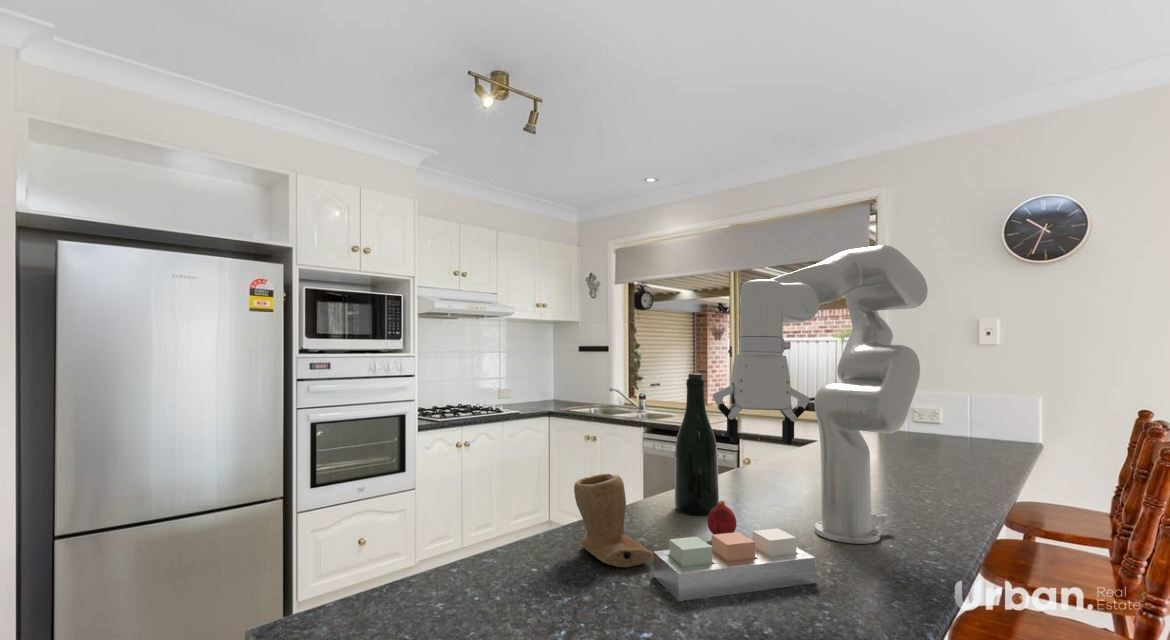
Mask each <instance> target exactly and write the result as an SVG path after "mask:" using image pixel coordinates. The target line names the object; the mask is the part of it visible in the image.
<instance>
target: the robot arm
mask: <svg viewBox="0 0 1170 640" xmlns="http://www.w3.org/2000/svg"><path fill="white" fill-rule="evenodd" d="M928 290H929V288H928V283H927V281H926V279H925V277H924V275H923V274H922V272H921V271H920V270H919V268H917V267H916V266H915V264H913V263H912V262H911V261H910V259H909V258H908V257H906V256H905V254H903V252H901V251H900V250H899V249H897V248H895V247H893V246H890V245H886V244H880V245H874V246H867V247H858V248H851V249H847V250H844V251H840V252H838V253H836V254H834V255H832V256H830V257H828V258H826V259H824V260H821V261H820V262H818V263H816V264H812V265H810V266H807V267H803V268H800V269H797V270H795V271H792V272H788V273H785V274H782V275H779V276H776V277H773V278H770V279H753V280H747V281H745V282H743V283H742V284H741V287H740V306H739V308H740V312H739V314H740V317H739V354H734V358H733V364H732V369H731V370H732V371H731V380H730V385H729V386H726V387H724V388H722V389H720V390H718V391H716V392H714V393H713V394H712V395H711V396H712V398H713V401H714V403H715V405H716V406H717V409H718V410H719V412H721V414H723V416H724V417H725V418H726V436H727V437H729V441H731V442H732V443H737V442H738V441H739V440H738V439H739V438H738V437H739V436H738V435H739V432H738V430H739V429H738V427H739V421H738V420H737V416H738V415H739V413H740V412H741V411H742V410H749V411H750V410H751V411H754V410H756V411H779V412H780V414H781V415H782V416H783V417H784V419H783V420H782V422H781V425H782V426H781V428H782V429H781V432H782V433H781V441H782V442H783V443H785V444H787V445H792V443H793V441H792V440H794V439H795V422H796V421H797V420H798V418H799V417H800V416H801V415H802V414H803V413H805V410H806V408H807V406H808V404H809V402H810V400H811V399H810V397H809V396H807V395H805V394H804V393H801V391H798V390H796V389H794V387H793V388H792V387H791V386H792V385H791V376H790V369H789V364H788V360H787V359H788V358H787V356H786V355H784V352H785V351H786V350H790V349H791V348H792V347H791V345H792V344H791V342H790V341H789V342H787V341H785V339H784V337H783V335H784V333H783V329H784V324H792V323H793V324H795V323H797V324H798V323H804V322H807V321H810V320H812V319H813V318H814V317H815V316H816V315H817V313H818V312H819V310H820V306H821V305H825V304H829V303H833V302H835V301H837V300H839V299H840V298H842V297H844V298H845V303H846V306H847V311H848V313H849V317H850V322H851V332H850V335H849V337H848V338H847V339H848V340H847V341H846V344H845V346H844V349H843V351H842V354H841V356H840V358H839V361H838V363H837V370H836V372H837V373H836V374H837V377H838V379H839V380H840V381H841V382H840V383H839V382H838V383H836V382H835V383H828V384H825V385H824V386H822V387H820V389H818V391H817V392H816V394H815V397H814V412H815V416H816V421H817V426H818V431H819V432H818V433H819V442H820V445H819V446H820V482H821V484H820V486H821V487H820V488H821V494H820V496H821V520H820V521H817V522H816V523H814V524H813V527H814V528H813V529H814V532H815V533H816V535H819V536H821V537H822V538H825V539H828V540H831V541H834V542H835V541H836V542H839V543H845V544H852V545H854V544H856V545H859V544H860V545H865V544H867V545H870V544H875V543H877V542H879V541H880V540H881V532H880V530H878V528H877V526H879V525H885V524H886V525H887V524H890V523H891V516H890V515H889V514H887V513H884V514H883V513H882V514H876V513H875V512H872V482H871V453H870V449H869V445H868V443H867V442H866V439H865V438H864V437H863V435H862V433H861V432H860V431H862V432H869V433H876V434H877V433H878V434H894V433H896V432H899V431H900V429H902V427H903V425H904V423H905V422H906V419H907V417H908V414H909V411H910V408H911V405H912V402H913V400H914V396H915V393H916V390H917V389H918V385H919V381H920V374H921V366H920V365H921V363H920V358H919V356H918V354H917V353H916V352H915V350H913V348H911V347H909V346H907V345H902V344H892V341H893V339H894V337H893V336H894V335H893V331H892V329H891V327H890V326H889V325H888V323H887V322H886V321H885V320H884V319H883V318H882V317H881V316H880V314H879V313H878V311H892V310H910V309H916V308H918V307H921V306H922V305H923V304H924V302H925V301H926V299H927V297H928V292H929V291H928ZM726 396H729V397H730V398H729V403H730V404H731V406H729V407H727V405H726V404H725V402H724V400H723V399H724V398H725V397H726ZM792 398H794V399H796V400H797V404H796V406H795V407H794V408H793V409H791V404H792Z"/></svg>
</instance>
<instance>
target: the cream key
mask: <svg viewBox="0 0 1170 640" xmlns="http://www.w3.org/2000/svg"><path fill="white" fill-rule="evenodd" d="M752 540H753V541H754V542H755V549H756V550H757V551H759V552H761V553H762V554H764V555H766V556H767V557H769V558H771V557H780V556H788V555H797V553H796V547H797V536H796V537H795V536H794V535H792V534H790V533H788V532H786V531H785V530H782V529H780V528H777V527H776V528H769V529H760V530H759V529H758V530H752Z"/></svg>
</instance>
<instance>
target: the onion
mask: <svg viewBox="0 0 1170 640" xmlns="http://www.w3.org/2000/svg"><path fill="white" fill-rule="evenodd" d="M707 528H708V529H709V531H710V532H711V535H715V534H725V533H735V531H736V529H737V519H736V516H735V513H734V512H733V510H732V509H731V508H730V507H728V506H727V505H726V503H725V501H724V500H719V504H718V505H717V506H716V507H714V508H713V509H712V510H711V511H710V513H709V515H707Z"/></svg>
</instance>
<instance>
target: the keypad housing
mask: <svg viewBox="0 0 1170 640" xmlns="http://www.w3.org/2000/svg"><path fill="white" fill-rule="evenodd" d="M709 545H710V544H709ZM710 546H712V544H711V545H710ZM652 553H653V555H654V557H653V577H654V579H656V580H657V581H658V582H659V584H660V585H662V586H663V587H664V588H665V589H666V590H667V591H668V592H669V593H670V594H671V595H672V596H673V598H675V599H676V601H678V602H684V600H686V601H692V599H693V600H700V599H706V598H707V599H708V598H714V597H723V596H729V595H738V594H744V593H752V592H753V593H754V592H759V591H766V590H774V589H780V588H781V589H783V588H788V587H789V588H790V587H798V586H804V585H805V586H806V585H813V584H816V583H817V573H816V572H817V571H816V570H817V569H816V557H815V556H813V555H812V554H810V553H808V552H806V551H804V550H803V549H801V548H799V547H797V546H796V553H797V555H788V556H780V557H771V558H769V557H767V556H766V555H764V554H762V553H761V552H759V551H757V550H756V549H755V559H754V560H746V561H737V562H729V563H726V562H725V561H723V560H722V559H721V558H719V557H718V556H716V555H715V554H714V553H712V564H711V565H703V566H694V567H686V568H681V567H680V566H679V565H678V564H677V563H675V562H674V561H673V560H672V559H671V558H670V557H669V549H665V550H657V551H656V550H653V552H652Z"/></svg>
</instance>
